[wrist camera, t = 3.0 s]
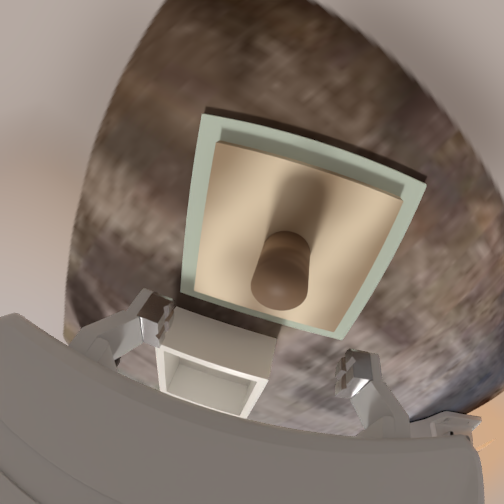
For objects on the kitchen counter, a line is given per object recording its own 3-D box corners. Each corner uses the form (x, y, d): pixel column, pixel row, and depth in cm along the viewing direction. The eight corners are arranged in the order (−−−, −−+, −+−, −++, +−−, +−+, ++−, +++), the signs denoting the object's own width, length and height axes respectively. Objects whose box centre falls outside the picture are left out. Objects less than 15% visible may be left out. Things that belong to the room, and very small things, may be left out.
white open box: (277, 336, 25) (268, 379, 21) (254, 385, 31) (245, 420, 26) (177, 304, 26) (155, 342, 22) (175, 359, 31) (160, 391, 27)
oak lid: (399, 197, 16) (425, 230, 12) (333, 325, 22) (333, 371, 18) (220, 140, 16) (188, 155, 12) (197, 284, 23) (174, 324, 19)
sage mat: (424, 183, 15) (427, 184, 15) (342, 336, 23) (342, 340, 23) (204, 113, 16) (202, 113, 16) (181, 289, 24) (180, 292, 24)
